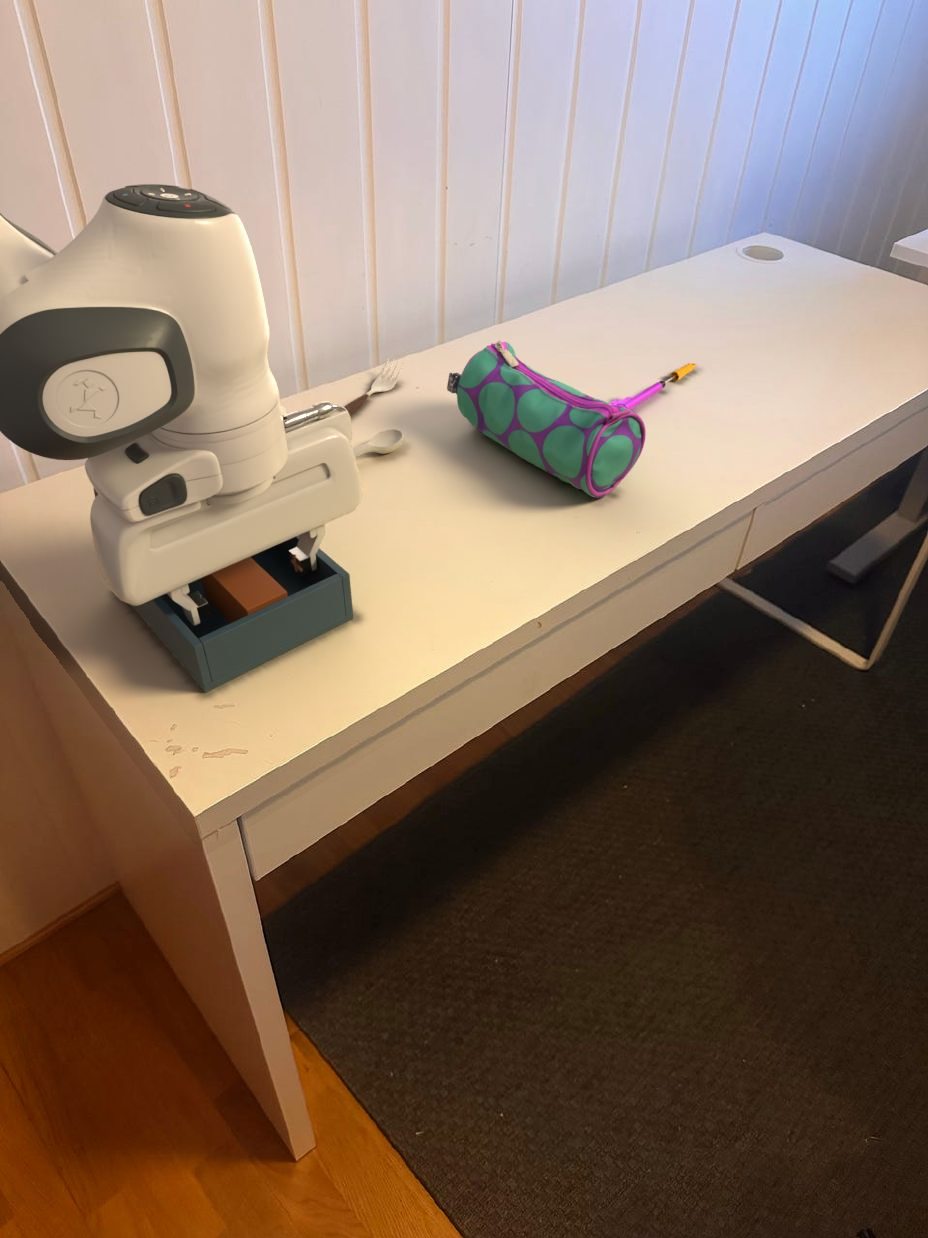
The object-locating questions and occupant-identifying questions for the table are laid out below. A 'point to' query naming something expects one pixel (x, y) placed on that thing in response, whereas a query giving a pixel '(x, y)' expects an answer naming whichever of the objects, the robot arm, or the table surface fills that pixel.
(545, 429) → the pencil case
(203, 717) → the table surface
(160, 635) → the teal shallow open box
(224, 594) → the brown rectangular block
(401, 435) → the spoon
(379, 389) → the fork
